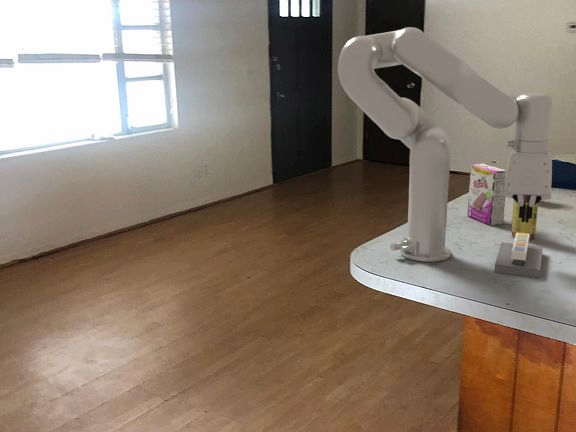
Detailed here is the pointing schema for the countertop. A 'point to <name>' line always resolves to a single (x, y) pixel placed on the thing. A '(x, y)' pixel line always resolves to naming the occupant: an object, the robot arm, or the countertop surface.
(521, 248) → the key blue
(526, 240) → the key sage
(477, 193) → the candy bar box
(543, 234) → the countertop surface
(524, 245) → the key terracotta
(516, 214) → the sauce bottle
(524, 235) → the key mustard
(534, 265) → the keypad board
